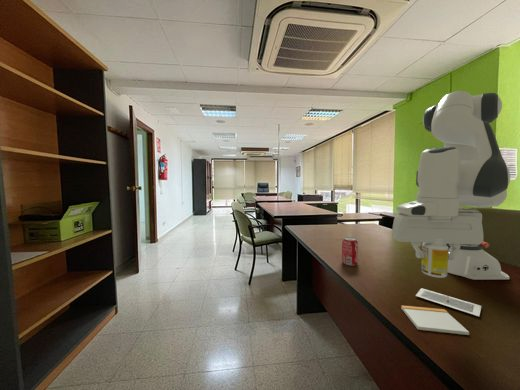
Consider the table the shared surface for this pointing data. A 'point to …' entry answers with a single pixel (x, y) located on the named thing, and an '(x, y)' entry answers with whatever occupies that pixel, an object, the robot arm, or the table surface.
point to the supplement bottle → (435, 259)
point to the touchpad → (450, 301)
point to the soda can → (350, 251)
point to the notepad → (433, 320)
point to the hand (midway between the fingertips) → (434, 258)
